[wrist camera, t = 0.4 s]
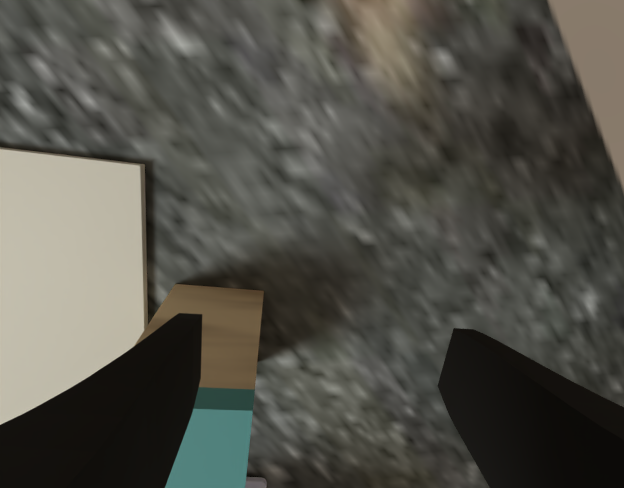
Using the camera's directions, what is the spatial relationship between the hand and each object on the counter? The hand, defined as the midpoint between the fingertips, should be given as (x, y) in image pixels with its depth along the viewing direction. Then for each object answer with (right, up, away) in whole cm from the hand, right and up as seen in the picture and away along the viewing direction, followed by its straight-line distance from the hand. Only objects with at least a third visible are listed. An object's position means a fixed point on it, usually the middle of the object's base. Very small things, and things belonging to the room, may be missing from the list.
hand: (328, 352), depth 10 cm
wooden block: (-6, -2, +11) cm, 13 cm away
